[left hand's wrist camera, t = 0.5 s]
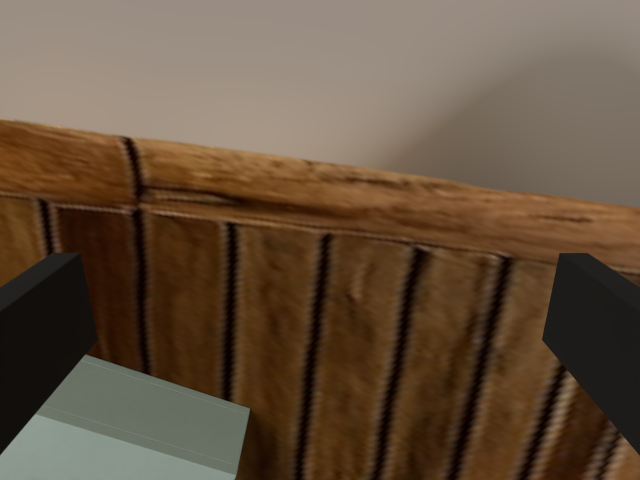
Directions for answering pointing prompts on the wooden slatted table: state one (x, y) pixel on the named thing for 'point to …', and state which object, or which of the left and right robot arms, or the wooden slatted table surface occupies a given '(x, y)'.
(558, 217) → the wooden slatted table surface
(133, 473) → the cabinet
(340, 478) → the wooden slatted table surface
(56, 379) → the left robot arm
